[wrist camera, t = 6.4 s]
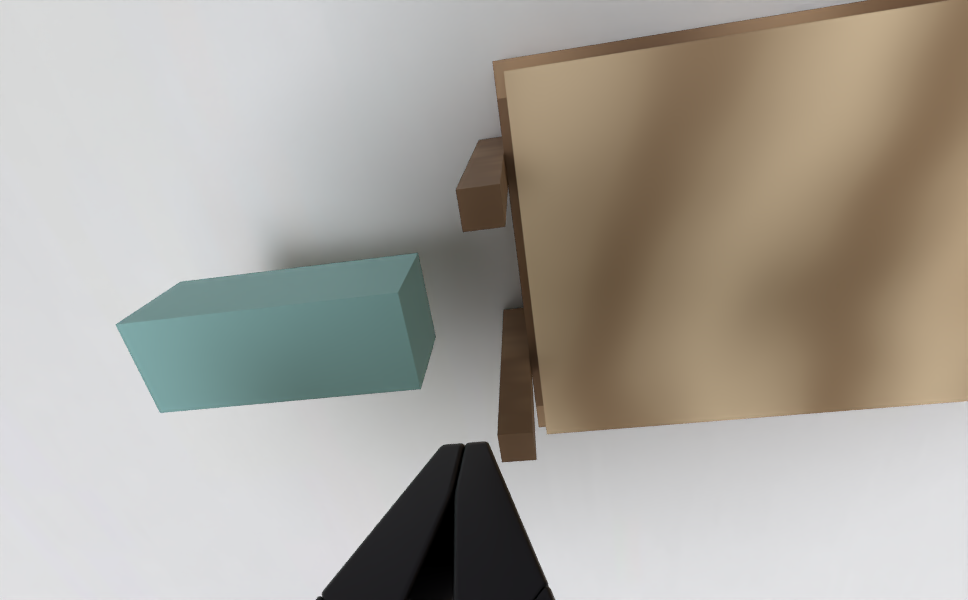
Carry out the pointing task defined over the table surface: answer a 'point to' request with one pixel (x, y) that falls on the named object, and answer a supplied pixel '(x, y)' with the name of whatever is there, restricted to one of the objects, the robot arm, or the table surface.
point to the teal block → (285, 335)
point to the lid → (749, 222)
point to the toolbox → (487, 209)
